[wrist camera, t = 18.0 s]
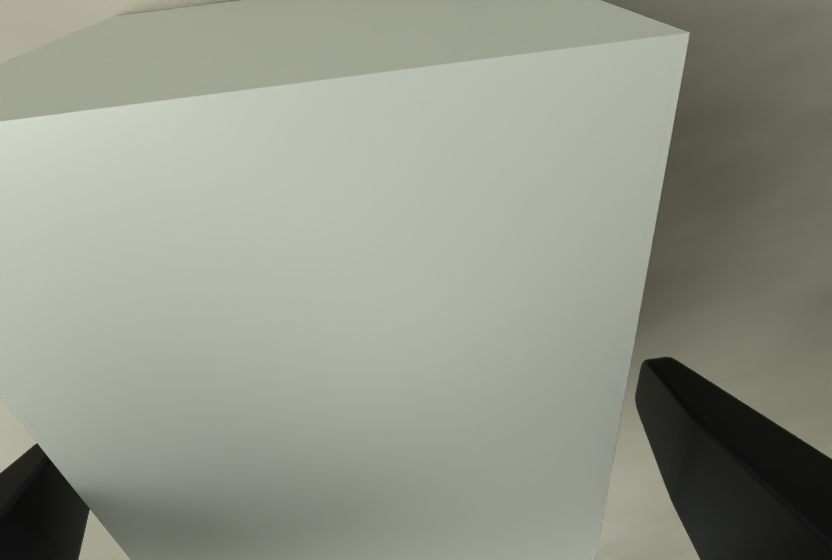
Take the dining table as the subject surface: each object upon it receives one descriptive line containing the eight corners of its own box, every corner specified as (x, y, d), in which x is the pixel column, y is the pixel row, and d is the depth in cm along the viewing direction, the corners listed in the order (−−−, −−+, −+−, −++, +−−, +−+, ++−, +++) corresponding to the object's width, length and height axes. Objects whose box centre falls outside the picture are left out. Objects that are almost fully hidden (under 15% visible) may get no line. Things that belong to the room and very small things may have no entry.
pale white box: (509, 377, 16) (585, 616, 11) (267, 409, 16) (217, 668, 11) (507, -34, 10) (689, 32, 4) (113, 16, 10) (-199, 147, 4)
